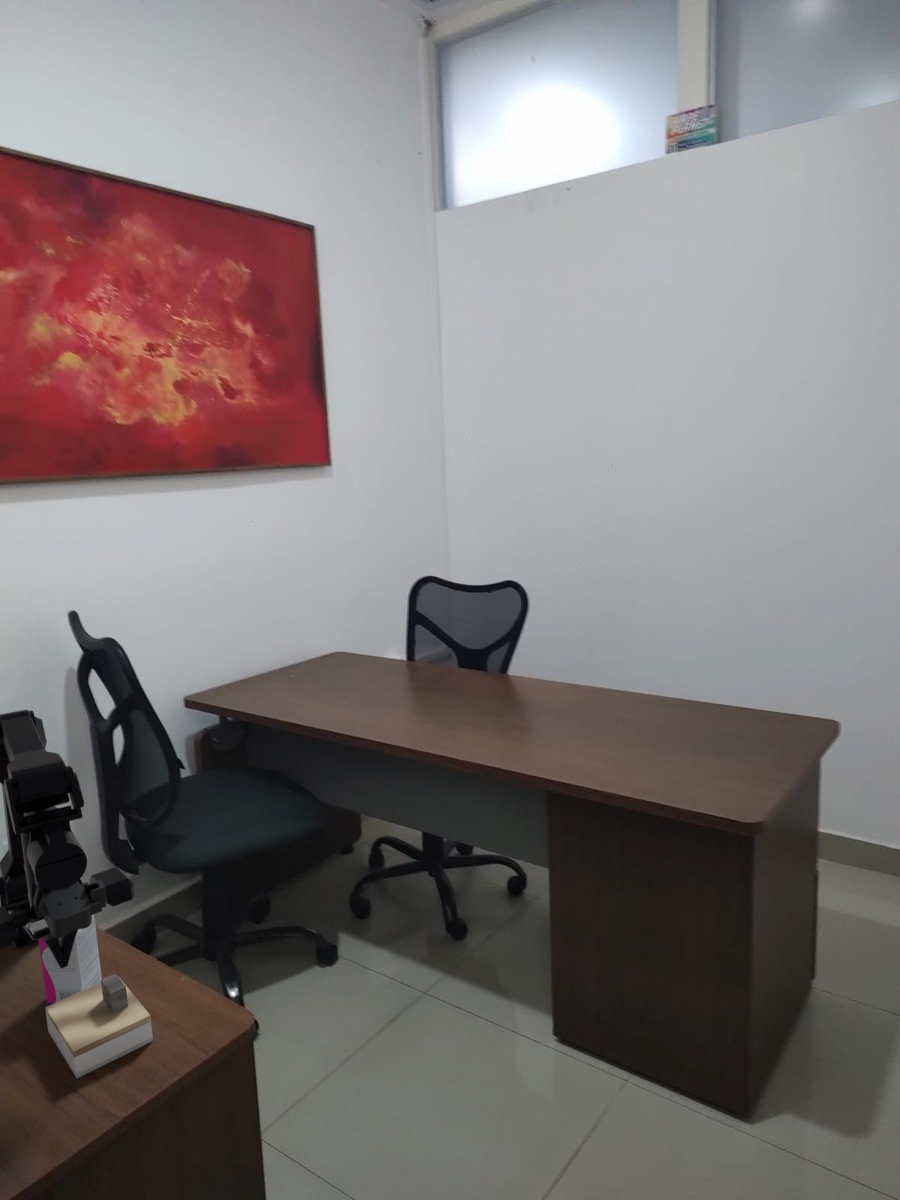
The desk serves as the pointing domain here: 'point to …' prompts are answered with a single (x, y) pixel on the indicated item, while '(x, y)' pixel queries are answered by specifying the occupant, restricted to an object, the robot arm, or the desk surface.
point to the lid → (97, 1015)
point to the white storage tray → (102, 1048)
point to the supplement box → (72, 967)
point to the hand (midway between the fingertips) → (63, 966)
